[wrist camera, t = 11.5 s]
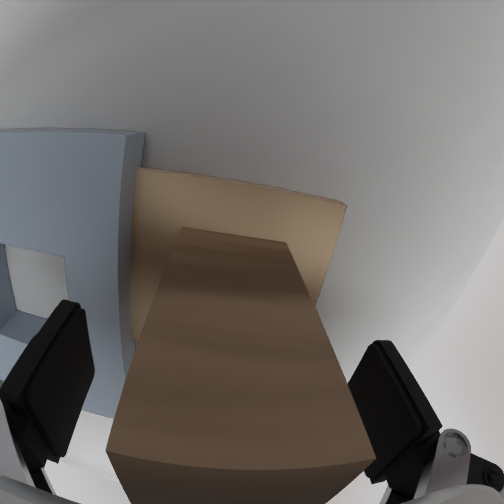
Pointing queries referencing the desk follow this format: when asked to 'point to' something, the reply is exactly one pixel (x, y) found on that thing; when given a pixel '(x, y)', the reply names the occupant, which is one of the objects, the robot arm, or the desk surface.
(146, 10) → the desk surface
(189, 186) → the cork mat
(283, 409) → the walnut block
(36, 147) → the holder
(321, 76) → the desk surface
